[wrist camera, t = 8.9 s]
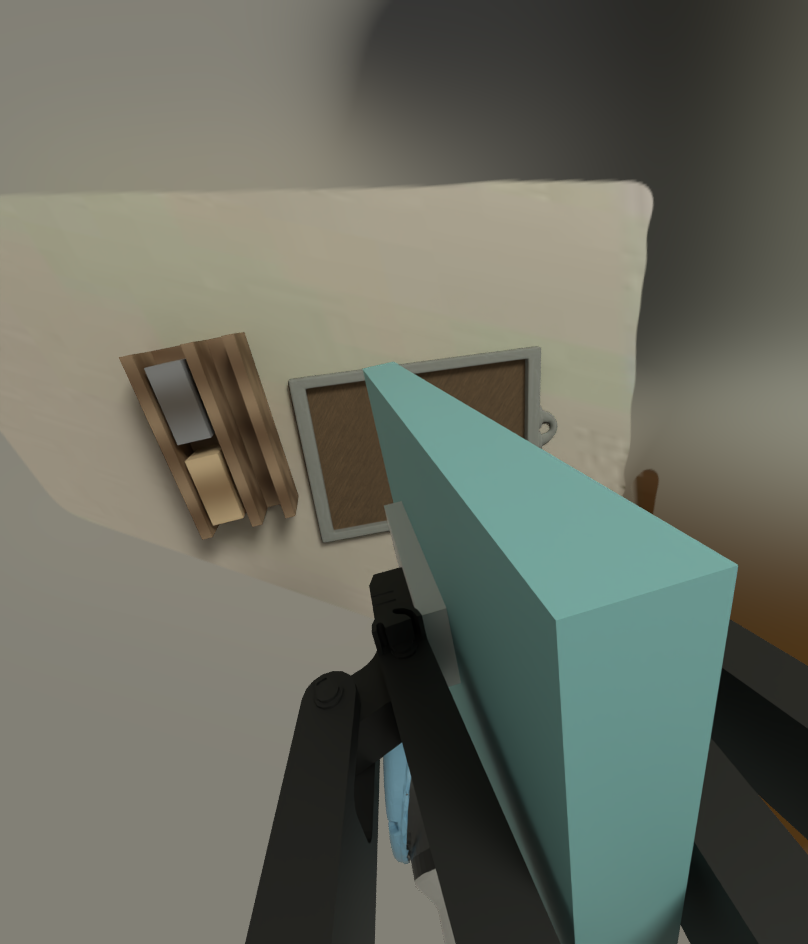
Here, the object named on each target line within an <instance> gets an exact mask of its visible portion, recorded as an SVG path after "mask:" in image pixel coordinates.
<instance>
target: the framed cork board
mask: <svg viewBox="0 0 808 944" xmlns="http://www.w3.org/2000/svg"><path fill="white" fill-rule="evenodd" d="M398 365H400V366H402V367H403V368H405V369H407V370H408V371H410V372H412V373H413V374H415V375H417V376H419V377H420V378H422V379H424V380H425V381H427V382H429V383H430V384H432V385H434V386H435V387H437V388H439V389H441V390H442V391H444V392H446V393H447V394H449V395H451V396H452V397H454V398H456V399H457V400H459V401H461V402H463V403H464V404H466V405H468V406H469V407H471V408H473V409H474V410H476V411H478V412H480V413H481V414H483V415H485V416H486V417H488V418H490V419H491V420H493V421H495V422H496V423H498V424H500V425H502V426H503V427H505V428H507V429H508V430H510V431H512V432H513V433H515V434H517V435H518V436H520V437H522V438H524V439H525V440H527V441H529V442H530V443H532V444H534V445H535V446H537V447H539V448H540V449H542V445H544V444H546V443H547V442H548V441H550V440H551V439H552V438H553V436H554V435H555V433H556V431H557V421H556V419H555V417H554V416H553V415H552V414H551V413H549V412H547V411H543V410H542V408H541V406H540V377H541V348H540V347H537V346H535V347H526V348H519V349H511V350H504V351H496V352H489V353H481V354H474V355H466V356H459V357H451V358H443V359H436V360H428V361H421V362H413V363H406V364H398ZM288 383H289V389H290V393H291V398H292V403H293V407H294V412H295V417H296V421H297V426H298V431H299V435H300V440H301V445H302V449H303V454H304V459H305V463H306V468H307V473H308V477H309V482H310V487H311V491H312V496H313V501H314V505H315V510H316V515H317V519H318V524H319V529H320V533H321V538H322V541H323V542H331V541H336V540H342V539H347V538H352V537H358V536H363V535H369V534H374V533H379V532H385V531H390V529H389V525H388V521H387V516H386V512H385V508H384V505H388V504H392V503H393V499H392V495H391V490H390V486H389V482H388V477H387V473H386V469H385V464H384V460H383V456H382V451H381V447H380V443H379V438H378V434H377V430H376V425H375V421H374V417H373V412H372V408H371V404H370V400H369V395H368V391H367V387H366V382H365V378H364V374H363V369H361V370H353V371H346V372H338V373H331V374H323V375H315V376H308V377H300V378H293V379H290V380H289V381H288ZM543 422H548V423H550V429H549V431H548V432H546V433H543V434H541V432H540V431H539V429H540V428H541V426H542V423H543Z"/></svg>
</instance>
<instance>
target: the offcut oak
mask: <svg viewBox="0 0 808 944" xmlns="http://www.w3.org/2000/svg"><path fill="white" fill-rule="evenodd" d="M185 463H186V465H187V467H188V470H189V472H190V474H191V477H192V479H193V481H194V483H195V486H196V488H197V490H198V493H199V495H200V497H201V499H202V502H203V504H204V506H205V508H206V511H207V513H208V515H209V518H210V520H211V522H212V524H213V526H214V525H218V524H222V523H226V522H229V521H233V520H237V519H241V518H244V515H245V513H246V509H245V507H244V504H243V502H242V499H241V497H240V494H239V492H238V489H237V487H236V484H235V482H234V479H233V477H232V474H231V472H230V469H229V466H228V464H227V461H226V459H225V456H224V454H223V451H222V449H221V446H220V444H215V445H211V446H206V447H202V448H198V449H197V450H196V451H195V452H194V453H193V454H192V455H191V456H190V457H189V458H188V459H187V460H186V461H185Z"/></svg>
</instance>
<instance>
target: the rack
mask: <svg viewBox="0 0 808 944" xmlns="http://www.w3.org/2000/svg"><path fill="white" fill-rule="evenodd" d="M185 358H186V360H187V363H188V365H189V368H190V370H191V373H192V375H193V378H194V380H195V383H196V385H197V388H198V391H199V393H200V396H201V398H202V401H203V403H204V406H205V408H206V411H207V413H208V416H209V418H210V421H211V423H212V426H213V429H214V431H215V434H214V435H213V436H212V437H211V438H207V439H203V440H198V441H194V442H190V443H185V444H181V445H177V442H176V440H175V438H174V436H173V433H172V431H171V429H170V427H169V424H168V422H167V420H166V417H165V415H164V413H163V411H162V408H161V406H160V404H159V401H158V399H157V397H156V395H155V392H154V390H153V388H152V386H151V383H150V381H149V379H148V376H147V374H146V372H145V370H144V368H146V367H150V366H154V365H158V364H162V363H166V362H171V361H176V360H181V359H185ZM119 359H120V361H121V363H122V366H123V368H124V370H125V372H126V374H127V376H128V379H129V381H130V383H131V385H132V387H133V389H134V392H135V394H136V396H137V398H138V400H139V403H140V405H141V407H142V409H143V411H144V413H145V416H146V418H147V420H148V422H149V424H150V427H151V429H152V431H153V433H154V435H155V437H156V440H157V442H158V444H159V446H160V448H161V451H162V453H163V455H164V457H165V459H166V461H167V464H168V466H169V468H170V470H171V472H172V474H173V477H174V479H175V481H176V483H177V485H178V488H179V490H180V492H181V494H182V496H183V498H184V501H185V503H186V505H187V507H188V509H189V512H190V514H191V516H192V518H193V520H194V522H195V525H196V527H197V529H198V531H199V533H200V536H201V538H202V540H203V539H207V538H211V537H213V535H214V533H215V531H216V530H217V528H218V526H219V524H218V525H214V526H213V524H212V522H211V520H210V518H209V515H208V513H207V511H206V508H205V506H204V504H203V502H202V499H201V497H200V495H199V493H198V490H197V488H196V486H195V483H194V481H193V479H192V477H191V474H190V472H189V470H188V467H187V465H186V463H185V461H186V460H187V459H188V458H189V457H190V456H191V455H192V454H193V453H194V452H195V451H196V450H197V449H198V448H202V447H206V446H211V445H215V444H220V446H221V449H222V451H223V454H224V456H225V459H226V461H227V464H228V466H229V469H230V472H231V474H232V477H233V479H234V482H235V484H236V487H237V489H238V492H239V494H240V497H241V499H242V502H243V504H244V507H245V509H246V513H247V515H248V517H249V520H250V522H251V525H252V527H254V526H258V525H262V524H263V520H264V517H265V514H266V511H267V508H268V507H271V506H275V505H279V504H281V507H282V509H283V512H284V515H285V518H289V517H293V516H295V515H296V509H297V503H298V493H297V490H296V487H295V484H294V481H293V478H292V475H291V472H290V469H289V466H288V463H287V460H286V457H285V454H284V451H283V448H282V445H281V442H280V439H279V436H278V432H277V429H276V426H275V423H274V420H273V417H272V414H271V411H270V408H269V405H268V402H267V399H266V396H265V393H264V390H263V387H262V384H261V381H260V378H259V375H258V372H257V369H256V366H255V363H254V360H253V357H252V354H251V351H250V348H249V345H248V342H247V339H246V336H245V333H244V332H242V333H235V334H229V335H225V336H221V337H218V338H214V339H209V340H203V341H197V342H191V343H186V344H181V345H180V346H175V347H170V348H165V349H161V350H156V351H151V352H145V353H139V354H133V355H128V356H123V357H119Z"/></svg>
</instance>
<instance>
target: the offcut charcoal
mask: <svg viewBox="0 0 808 944" xmlns="http://www.w3.org/2000/svg"><path fill="white" fill-rule="evenodd" d="M144 370H145V372H146V374H147V376H148V379H149V381H150V383H151V386H152V388H153V390H154V392H155V395H156V397H157V399H158V401H159V404H160V406H161V408H162V411H163V413H164V415H165V417H166V420H167V422H168V424H169V427H170V429H171V431H172V433H173V436H174V438H175V440H176V442H177V445H181V444H185V443H190V442H194V441H198V440H203V439H207V438H211V437H212V436H213V435H214V434H215V431H214V429H213V426H212V423H211V421H210V418H209V416H208V413H207V411H206V408H205V406H204V403H203V401H202V398H201V396H200V393H199V391H198V388H197V385H196V383H195V380H194V378H193V375H192V373H191V370H190V368H189V365H188V363H187V360H186V358H185V359H181V360H176V361H171V362H166V363H162V364H158V365H154V366H150V367H146V368H144Z"/></svg>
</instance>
